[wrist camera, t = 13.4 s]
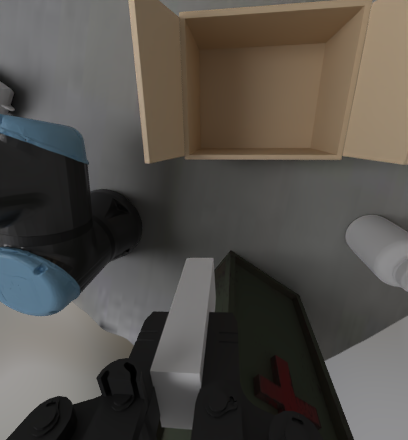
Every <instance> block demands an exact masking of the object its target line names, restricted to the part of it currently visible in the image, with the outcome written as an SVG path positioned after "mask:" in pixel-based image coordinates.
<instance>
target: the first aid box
mask: <svg viewBox="0 0 408 440" xmlns="http://www.w3.org/2000/svg"><path fill="white" fill-rule="evenodd" d="M214 275H215V292H216V302H215V312H232V313H233V315H234V317H235V318H236V320H237V323H238V346H239V370H240V384H241V388H242V390H243V393H244V394H245V396H246V397H247V399H248V400H249V401H250V402H251V403H252V404H253V405H255V406H256V407H258V408H260V409H262V410H264V411H266V412H269V413H271V414H273V415H276V414H279V413H281V412H283V411H295V412H297V413H299V414H302V415H304V416H305V417H306V418H307V419H309V420H310V421H311V422H312V423H313V424H314V425H315V427H316V428H317V430H318V431H319V433H320V434H321V436H322V438H323V440H354V439H353V436H352V433H351V431H350V428H349V425H348V423H347V420H346V417H345V415H344V412H343V409H342V407H341V404H340V401H339V399H338V396H337V394H336V391H335V389H334V386H333V383H332V380H331V378H330V375H329V372H328V370H327V367H326V365H325V362H324V359H323V357H322V354H321V351H320V349H319V346H318V343H317V341H316V338H315V335H314V333H313V330H312V328H311V325H310V322H309V320H308V317H307V314H306V312H305V309H304V306H303V304H302V301H301V299H300V296H299V295H298V294H296V293H295V292H293V291H292V290H290V289H289V288H287V287H286V286H284V285H283V284H281V283H280V282H278V281H276V280H275V279H273V278H272V277H270V276H269V275H267V274H266V273H264V272H263V271H261V270H260V269H258V268H257V267H255V266H254V265H252V264H251V263H249V262H248V261H246V260H245V259H243V258H242V257H240V256H239V255H237V254H235V253H234V252H232V251H230V252H229V253H228V254H227V256H226V257H225V258H224V259H223V260H222V262H221V263H220V264H219V265H218V266H217V268H216V269H215V270H214ZM191 434H192V430H191V429H178V428H166V427H162V426H161V421H160V420H159V424H158V428H157V433H156V437H157V440H191Z"/></svg>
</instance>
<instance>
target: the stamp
mask: <svg viewBox="0 0 408 440" xmlns="http://www.w3.org/2000/svg"><path fill="white" fill-rule="evenodd" d="M13 95H14V92H13V91H12V89H10V88H9V87H7V86H6V85H5V84H3V83H2V82H0V114H4V115H7V114H8V112H9V110H10V111H15V109H14V108H13V107H12V106H11V102H12V98H13Z"/></svg>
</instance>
